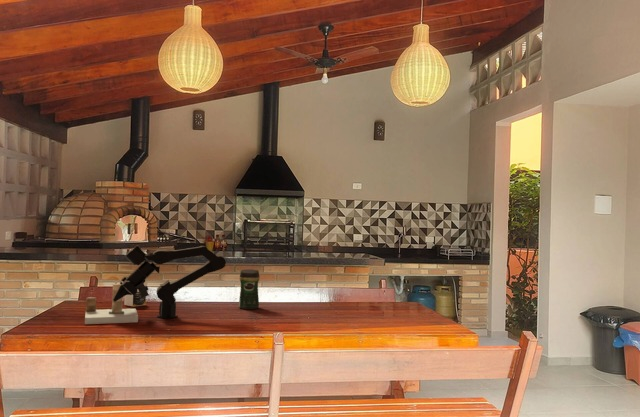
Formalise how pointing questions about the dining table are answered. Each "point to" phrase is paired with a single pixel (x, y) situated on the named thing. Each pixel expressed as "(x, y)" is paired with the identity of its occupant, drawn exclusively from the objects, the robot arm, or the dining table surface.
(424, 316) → the dining table surface
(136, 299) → the medicine bottle
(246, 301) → the coffee jar
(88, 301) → the short walnut peg
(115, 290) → the tall beech peg
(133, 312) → the hole board
